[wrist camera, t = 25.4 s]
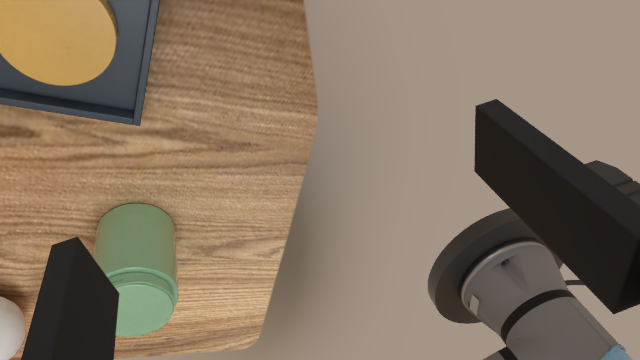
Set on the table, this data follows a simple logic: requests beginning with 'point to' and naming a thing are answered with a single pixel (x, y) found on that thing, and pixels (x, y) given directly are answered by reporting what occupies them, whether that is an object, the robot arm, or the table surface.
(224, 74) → the table surface
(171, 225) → the jar
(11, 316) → the seamed sphere
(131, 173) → the table surface
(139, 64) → the dish
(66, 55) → the lid
